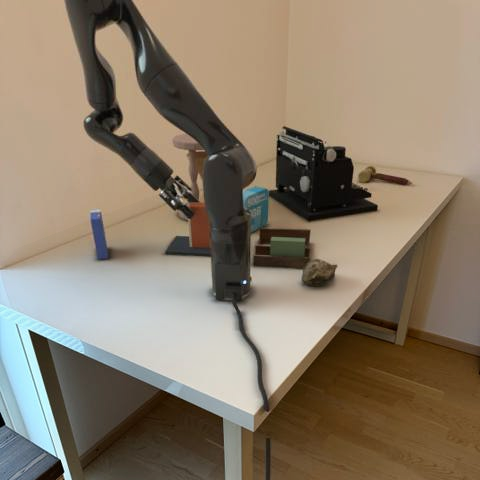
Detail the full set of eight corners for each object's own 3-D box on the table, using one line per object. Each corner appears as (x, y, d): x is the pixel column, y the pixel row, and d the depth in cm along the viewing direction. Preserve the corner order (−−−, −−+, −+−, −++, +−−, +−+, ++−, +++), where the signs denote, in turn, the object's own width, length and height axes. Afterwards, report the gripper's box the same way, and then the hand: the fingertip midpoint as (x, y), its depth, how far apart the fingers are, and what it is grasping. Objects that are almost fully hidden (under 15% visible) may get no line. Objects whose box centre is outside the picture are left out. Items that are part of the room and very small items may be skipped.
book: (224, 248, 133) (223, 207, 126) (189, 247, 134) (186, 206, 128) (226, 243, 136) (225, 203, 130) (193, 241, 137) (190, 201, 131)
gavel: (416, 174, 189) (410, 180, 181) (413, 185, 191) (407, 192, 184) (366, 164, 197) (359, 170, 190) (364, 175, 200) (357, 181, 192)
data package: (246, 235, 143) (245, 196, 137) (234, 232, 146) (233, 194, 139) (268, 224, 151) (269, 187, 145) (257, 221, 154) (257, 185, 147)
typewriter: (377, 210, 161) (388, 134, 148) (308, 221, 153) (313, 141, 140) (330, 187, 186) (336, 120, 173) (268, 195, 178) (270, 125, 164)
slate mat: (235, 257, 130) (235, 254, 129) (165, 254, 132) (165, 251, 132) (240, 241, 140) (240, 238, 139) (176, 238, 142) (175, 235, 142)
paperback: (303, 266, 124) (305, 241, 121) (270, 264, 125) (270, 240, 122) (303, 262, 126) (305, 238, 123) (270, 260, 127) (271, 236, 124)
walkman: (108, 258, 130) (100, 217, 123) (97, 260, 129) (90, 218, 123) (107, 248, 136) (100, 208, 130) (97, 249, 135) (90, 208, 129)
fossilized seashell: (315, 285, 110) (346, 281, 115) (311, 257, 110) (342, 254, 115) (296, 289, 116) (326, 285, 121) (291, 263, 116) (322, 260, 121)
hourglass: (198, 202, 171) (194, 130, 158) (238, 210, 163) (238, 135, 150) (168, 216, 158) (161, 139, 145) (210, 225, 151) (207, 145, 137)
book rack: (308, 268, 123) (309, 253, 121) (253, 266, 125) (253, 250, 122) (309, 244, 137) (310, 229, 135) (259, 241, 139) (259, 227, 137)
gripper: (151, 171, 133) (193, 212, 138) (135, 185, 121) (181, 229, 126) (167, 153, 130) (209, 194, 134) (152, 165, 118) (199, 211, 122)
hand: (195, 211), depth 130 cm, fingers open, 8 cm apart
